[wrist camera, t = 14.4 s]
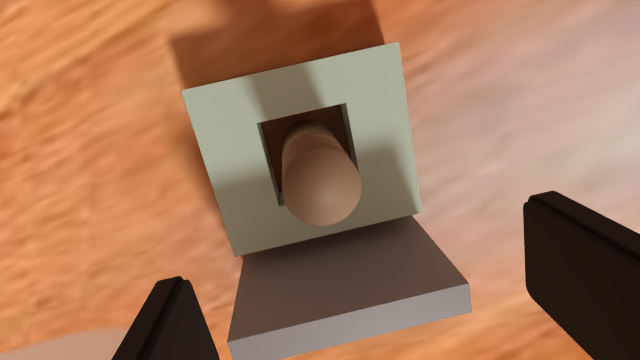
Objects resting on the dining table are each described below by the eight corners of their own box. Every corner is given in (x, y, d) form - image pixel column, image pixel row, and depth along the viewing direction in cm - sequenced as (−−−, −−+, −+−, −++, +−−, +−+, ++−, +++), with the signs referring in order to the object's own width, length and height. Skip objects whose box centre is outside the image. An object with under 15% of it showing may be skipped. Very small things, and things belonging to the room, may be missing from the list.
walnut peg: (329, 114, 28) (353, 141, 18) (339, 165, 29) (367, 215, 19) (276, 126, 28) (273, 160, 18) (289, 177, 29) (292, 233, 19)
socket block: (386, 43, 26) (398, 41, 24) (408, 198, 30) (422, 212, 27) (192, 87, 26) (181, 90, 23) (239, 238, 30) (234, 256, 27)
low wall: (411, 214, 31) (469, 283, 21) (414, 236, 31) (471, 312, 22) (244, 254, 30) (227, 342, 21) (251, 275, 31) (236, 369, 21)
